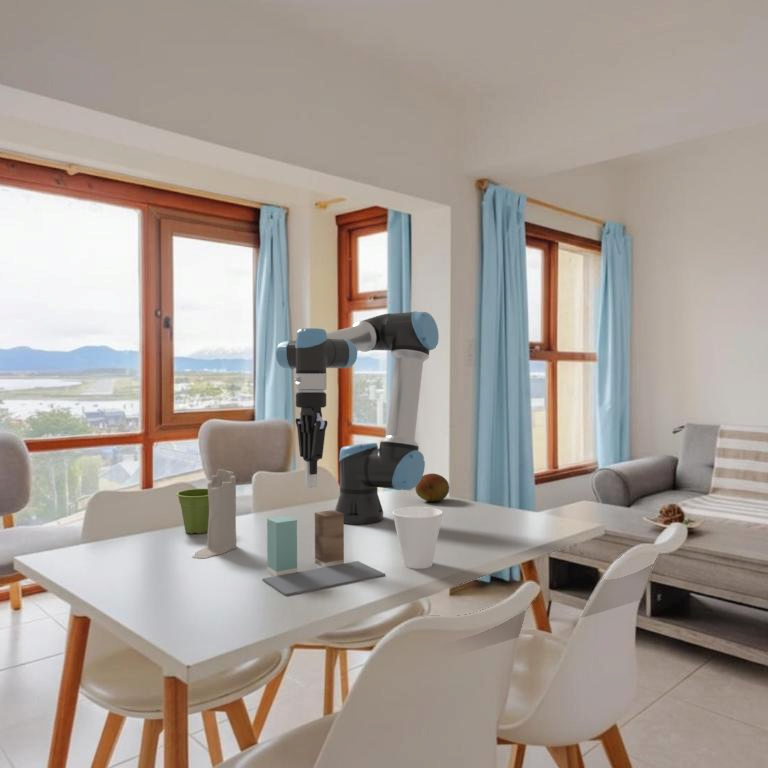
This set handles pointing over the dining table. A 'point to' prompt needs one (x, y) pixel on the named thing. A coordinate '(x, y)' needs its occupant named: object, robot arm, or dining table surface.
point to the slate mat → (322, 578)
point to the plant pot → (195, 510)
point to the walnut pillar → (329, 538)
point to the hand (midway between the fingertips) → (310, 487)
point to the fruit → (432, 487)
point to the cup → (417, 535)
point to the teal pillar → (282, 545)
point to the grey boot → (220, 515)
